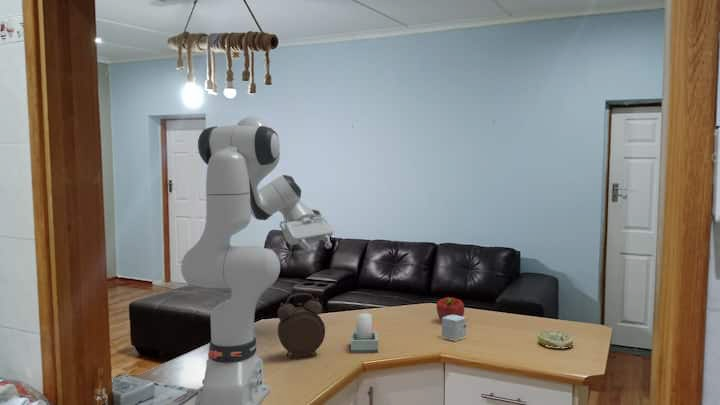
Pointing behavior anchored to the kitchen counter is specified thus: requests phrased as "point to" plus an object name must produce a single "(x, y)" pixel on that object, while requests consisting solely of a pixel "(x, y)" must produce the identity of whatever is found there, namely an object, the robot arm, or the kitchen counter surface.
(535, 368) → the kitchen counter surface
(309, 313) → the alarm clock
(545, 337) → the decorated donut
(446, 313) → the vegetable
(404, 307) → the kitchen counter surface
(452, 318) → the skincare box
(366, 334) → the cylinder
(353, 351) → the teal open box
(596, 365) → the kitchen counter surface
